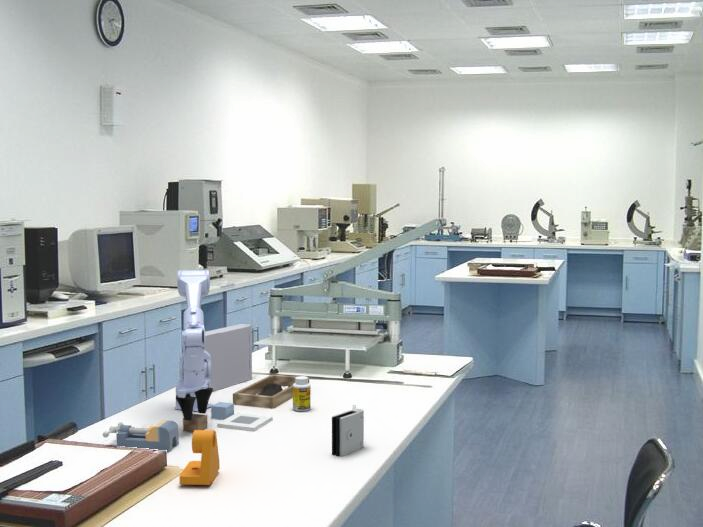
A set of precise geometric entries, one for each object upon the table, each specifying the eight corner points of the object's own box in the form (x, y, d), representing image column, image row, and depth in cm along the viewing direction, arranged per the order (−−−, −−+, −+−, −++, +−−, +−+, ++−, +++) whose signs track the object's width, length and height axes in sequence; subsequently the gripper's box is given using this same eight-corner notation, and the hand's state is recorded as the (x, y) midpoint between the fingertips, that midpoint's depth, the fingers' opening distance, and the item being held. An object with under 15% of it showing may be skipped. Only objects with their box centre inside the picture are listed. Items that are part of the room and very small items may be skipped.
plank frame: (232, 404, 258) (232, 393, 258) (272, 384, 285) (271, 374, 284) (273, 408, 253) (273, 397, 253) (309, 387, 280) (309, 377, 279)
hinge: (353, 440, 222) (353, 404, 221) (370, 443, 219) (371, 407, 218) (329, 455, 209) (329, 417, 208) (347, 458, 207) (347, 420, 206)
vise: (181, 442, 220) (181, 418, 219) (166, 454, 210) (166, 430, 209) (119, 439, 223) (119, 415, 222) (102, 451, 213) (101, 426, 212)
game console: (254, 379, 292) (253, 325, 290) (202, 395, 269) (201, 336, 268) (242, 377, 295) (241, 323, 294) (189, 393, 273) (188, 335, 271)
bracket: (190, 471, 197) (189, 423, 196) (219, 471, 197) (218, 424, 196) (178, 487, 186) (177, 437, 185) (209, 488, 186) (208, 437, 185)
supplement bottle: (298, 413, 248) (298, 380, 247) (289, 408, 253) (289, 376, 252) (313, 410, 251) (313, 378, 250) (305, 406, 256) (304, 374, 255)
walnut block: (183, 431, 230) (182, 418, 229) (192, 426, 234) (192, 413, 234) (198, 433, 228) (198, 419, 227) (207, 428, 232) (207, 415, 232)
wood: (275, 406, 258) (275, 396, 257) (252, 405, 259) (252, 395, 258) (289, 389, 280) (289, 380, 279) (268, 388, 281) (268, 379, 280)
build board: (217, 426, 234) (217, 423, 234) (237, 415, 245) (237, 412, 245) (254, 431, 229) (253, 427, 229) (272, 419, 241) (272, 416, 241)
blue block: (211, 419, 242) (211, 406, 242) (219, 414, 247) (219, 401, 247) (226, 420, 241) (225, 407, 240) (234, 416, 245) (233, 403, 245)
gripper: (192, 376, 221) (193, 424, 222) (219, 365, 235) (220, 411, 236) (170, 374, 224) (171, 422, 225) (198, 363, 237) (199, 409, 238)
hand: (195, 416), depth 231 cm, fingers open, 7 cm apart
